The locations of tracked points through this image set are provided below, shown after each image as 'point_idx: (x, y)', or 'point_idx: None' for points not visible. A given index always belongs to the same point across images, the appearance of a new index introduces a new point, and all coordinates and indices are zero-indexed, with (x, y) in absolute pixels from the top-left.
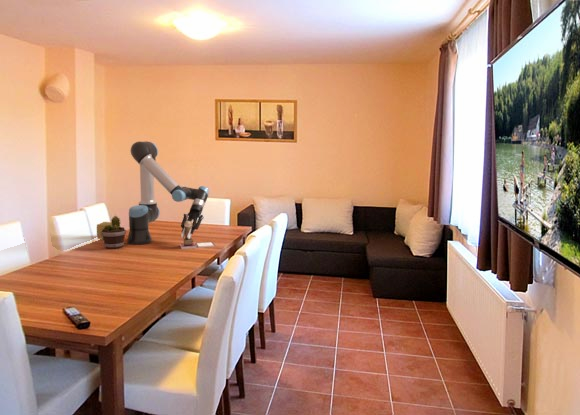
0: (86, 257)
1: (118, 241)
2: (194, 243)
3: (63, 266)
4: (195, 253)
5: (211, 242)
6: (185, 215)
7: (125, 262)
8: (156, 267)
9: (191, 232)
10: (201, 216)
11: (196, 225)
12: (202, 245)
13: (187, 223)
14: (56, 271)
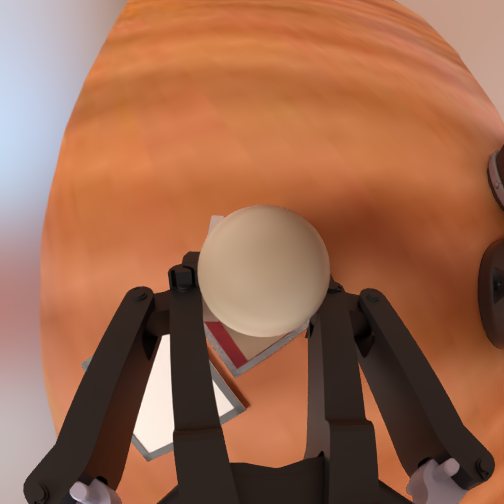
0: (449, 80)
1: (500, 158)
2: (225, 362)
3: (412, 33)
4: (133, 167)
5: (146, 450)
6: (457, 459)
7: (331, 37)
8: (212, 20)
9: (191, 254)
10: (41, 472)
11: (127, 308)
12: (158, 354)
13: (244, 208)
14: (389, 14)
